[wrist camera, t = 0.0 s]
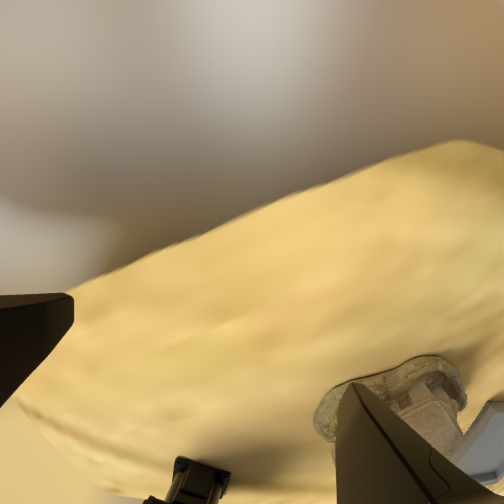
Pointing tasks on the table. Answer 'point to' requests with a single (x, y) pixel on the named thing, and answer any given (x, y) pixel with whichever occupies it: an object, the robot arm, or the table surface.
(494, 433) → the grey tray
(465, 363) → the table surface
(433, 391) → the ceramic model
